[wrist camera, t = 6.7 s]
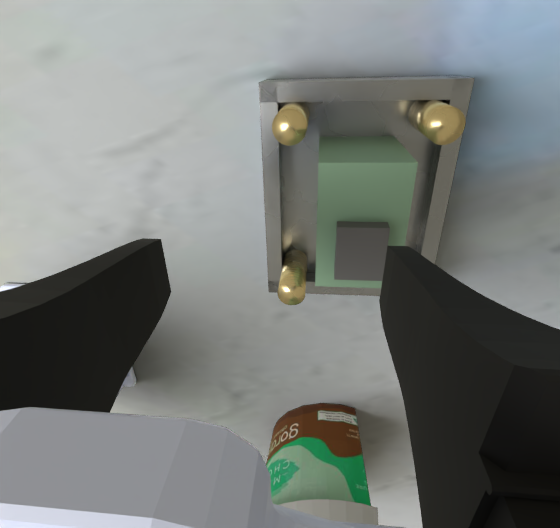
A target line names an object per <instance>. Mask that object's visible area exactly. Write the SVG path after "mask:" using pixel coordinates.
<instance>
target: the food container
mask: <svg viewBox="0 0 560 528" xmlns="http://www.w3.org/2000/svg"><path fill="white" fill-rule="evenodd" d="M266 467H267V469H268V471H269V473H270V480H271V499H272V502H273V504H276V505H280V506H283V507H286V508H290V509H293V510H297V511H300V512H304V513H307V514H311V515H314V516H317V517H321V518H324V519H328V520H331V521H341V522H352V523H362V524H373V525H378V508H376V507H373V506H371V503H370V497H369V491H368V485H367V479H366V473H365V466H364V460H363V454H362V448H361V442H360V436H359V430H358V423H357V417H356V411H355V408H352V407H348V406H344V405H340V404H327V403H318V404H311V405H304V406H301V407H298V408H296V409H293V410H291V411H288V412H287V413H286V414H285V415H283V416H282V417H281V418H280V419H279V420H278V421H277V423H276V425H275V427H274V430H273V435H272V440H271V444H270V449H269V454H268V459H267V463H266Z"/></svg>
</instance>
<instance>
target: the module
mask: <svg viewBox="0 0 560 528" xmlns="http://www.w3.org/2000/svg"><path fill="white" fill-rule="evenodd" d="M417 166H418V162H417V161H416V160H415V159H414V158H413V156H412V155H411V154H410V153H409V152H408V151H407V150H406V149H405V148H404V146H403V145H402V144H401V143H400V142H399V141H398V140H397V139H396V138H395V136H350V137H319V164H318V200H317V237H316V274H315V286H326V287H356V288H381V287H382V280H383V273H384V266H385V259H386V253H387V246H405V240H406V234H407V228H408V222H409V215H410V209H411V203H412V197H413V191H414V184H415V178H416V172H417Z"/></svg>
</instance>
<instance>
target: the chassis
mask: <svg viewBox="0 0 560 528" xmlns="http://www.w3.org/2000/svg"><path fill="white" fill-rule="evenodd" d="M473 83H474V78H471V77H464V76H412V77H367V78H322V79H277V80H264V81H261V82H259V99H260V119H261V140H262V161H263V182H264V203H265V224H266V244H267V265H268V286H269V292H278V297H279V299H280V300H281V301H282V302H283V303H285V304H288V305H297V304H299V303H301V302H302V301H303V300H304V298H305V293H311V294H340V295H369V296H380V294H381V288H356V287H326V286H315V274H316V237H317V200H318V164H319V137H350V136H395V138H396V139H397V140H398V141H399V142H400V143H401V144H402V145H403V146H404V148H405V149H406V150H407V151H408V152H409V153H410V154H411V155H412V156H413V158H414V159H415V160H416V161H417V162H418V166H417V172H416V178H415V184H414V191H413V197H412V203H411V209H410V215H409V222H408V228H407V234H406V240H405V246H408V247H410V248H412V249H414V250H415V251H417V252H418V253H419V254H421V255H422V256H424V257H425V258H426V259H428V260H429V261H431V262H432V263H433V264H435V261H436V256H437V252H438V247H439V242H440V238H441V233H442V228H443V224H444V219H445V214H446V210H447V205H448V200H449V196H450V191H451V186H452V181H453V177H454V172H455V167H456V163H457V158H458V153H459V149H460V144H461V139H462V135H463V131H464V128H465V121H466V116H467V111H468V107H469V102H470V97H471V92H472V88H473Z"/></svg>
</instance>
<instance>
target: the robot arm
mask: <svg viewBox="0 0 560 528" xmlns="http://www.w3.org/2000/svg"><path fill="white" fill-rule="evenodd" d="M170 293H171V289H170V284H169V279H168V273H167V268H166V263H165V258H164V253H163V248H162V242H161V239H140V240H136V241H133V242H131V243H128V244H125V245H123V246H121V247H118V248H116V249H114V250H111V251H109V252H107V253H105V254H102V255H100V256H98V257H95V258H93V259H91V260H89V261H86V262H84V263H81V264H79V265H76V266H74V267H72V268H69V269H67V270H64V271H62V272H59V273H57V274H54V275H51V276H49V277H46V278H43V279H40V280H37V281H34V282H31V283H28V284H13V283H6V284H4V285H2V286H1V287H0V528H404V527H394V526H383V525H373V524H362V523H352V522H341V521H331V520H328V519H324V518H321V517H317V516H314V515H311V514H307V513H304V512H300V511H297V510H293V509H290V508H286V507H283V506H280V505H276V504H273V502H272V499H271V480H270V473H269V471H268V469H267V467H266V465H265V463H264V461H263V459H262V457H261V454H260V452H259V451H258V450H257V449H256V448H255V447H254V446H253V445H252V444H250V443H249V442H247V441H246V440H244V439H243V438H241V437H240V436H239V435H237V434H236V433H234V432H233V431H231V430H230V429H228V428H227V427H223V426H219V425H214V424H210V423H206V422H202V421H198V420H194V419H188V418H174V417H160V416H146V415H133V414H119V413H110V410H111V408H112V406H113V404H114V402H115V399H116V397H117V396H118V394H119V392H120V391H121V389H122V387H123V386H124V387H133V386H134V385H135V383H136V377H135V374H134V371H133V367H132V365H133V364H134V362H135V360H136V359H137V357H138V355H139V354H140V352H141V350H142V349H143V347H144V345H145V344H146V342H147V340H148V339H149V337H150V335H151V334H152V332H153V330H154V329H155V327H156V325H157V323H158V322H159V320H160V318H161V316H162V314H163V312H164V309H165V307H166V304H167V302H168V299H169V296H170ZM379 301H380V309H381V316H382V323H383V328H384V332H385V336H386V339H387V343H388V346H389V349H390V353H391V356H392V360H393V363H394V366H395V370H396V373H397V377H398V380H399V383H400V387H401V391H402V395H403V399H404V404H405V410H406V416H407V421H408V427H409V433H410V439H411V446H412V452H413V458H414V465H415V472H416V479H417V486H418V494H419V501H420V508H421V516H422V525H423V528H560V330H559V329H556V328H553V327H551V326H548V325H546V324H543V323H541V322H538V321H536V320H533V319H531V318H529V317H526V316H524V315H521V314H519V313H517V312H515V311H513V310H510V309H508V308H506V307H504V306H502V305H500V304H498V303H496V302H494V301H492V300H490V299H488V298H487V297H485V296H483V295H481V294H479V293H478V292H476V291H474V290H473V289H471V288H469V287H468V286H466V285H464V284H463V283H461V282H460V281H458V280H457V279H455V278H453V277H452V276H450V275H449V274H448V273H446V272H445V271H443V270H442V269H440V268H439V267H438V266H436V265H435V264H433V263H432V262H431V261H429V260H428V259H426V258H425V257H424V256H422V255H421V254H419V253H418V252H417V251H415V250H414V249H412V248H410V247H408V246H387V253H386V259H385V266H384V273H383V280H382V287H381V294H380V300H379Z"/></svg>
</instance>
